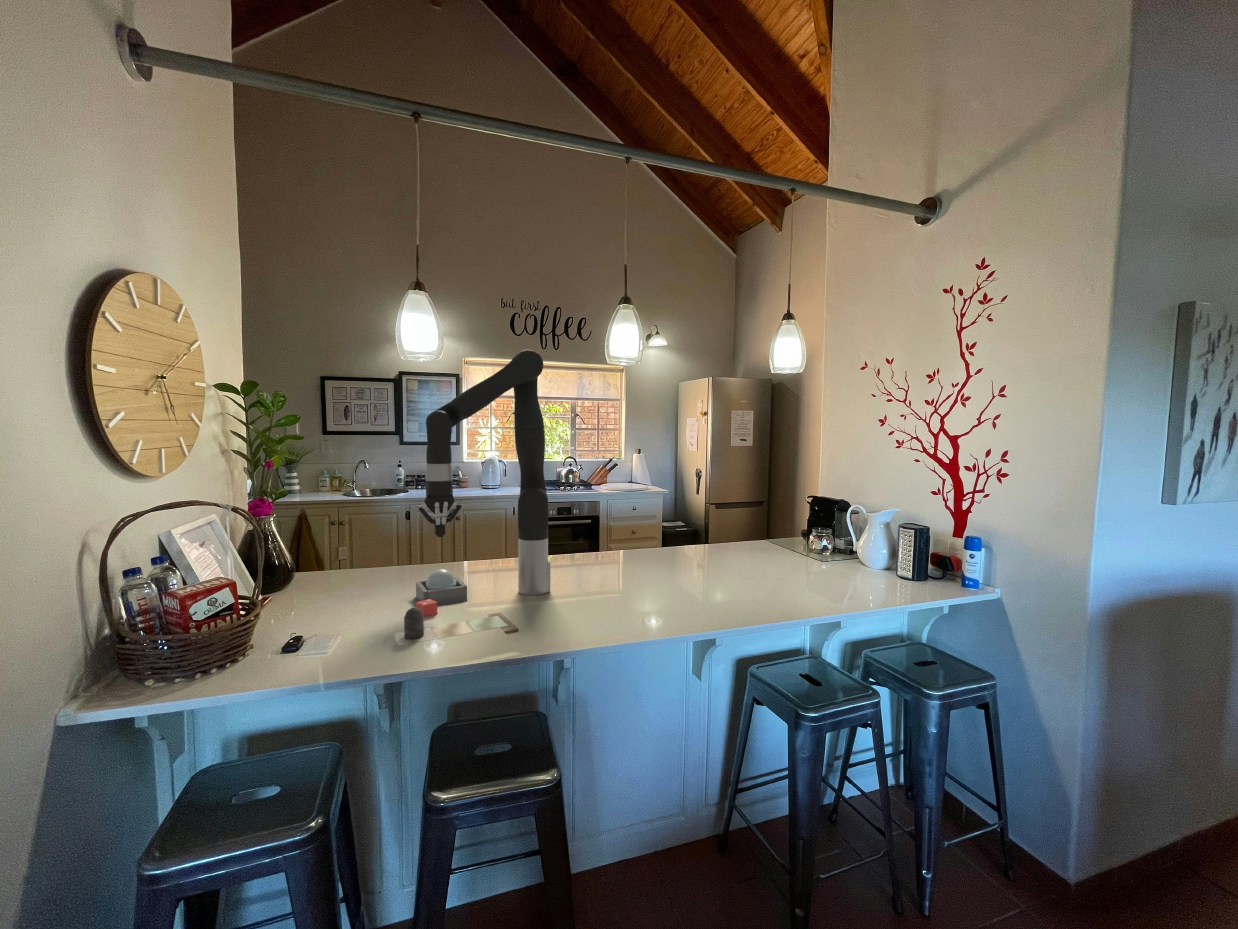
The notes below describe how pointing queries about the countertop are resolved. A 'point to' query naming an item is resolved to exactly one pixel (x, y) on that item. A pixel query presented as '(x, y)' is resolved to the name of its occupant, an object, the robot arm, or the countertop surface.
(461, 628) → the game board
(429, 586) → the dome
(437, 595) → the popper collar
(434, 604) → the red die
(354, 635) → the countertop surface
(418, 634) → the dark grey capsule
